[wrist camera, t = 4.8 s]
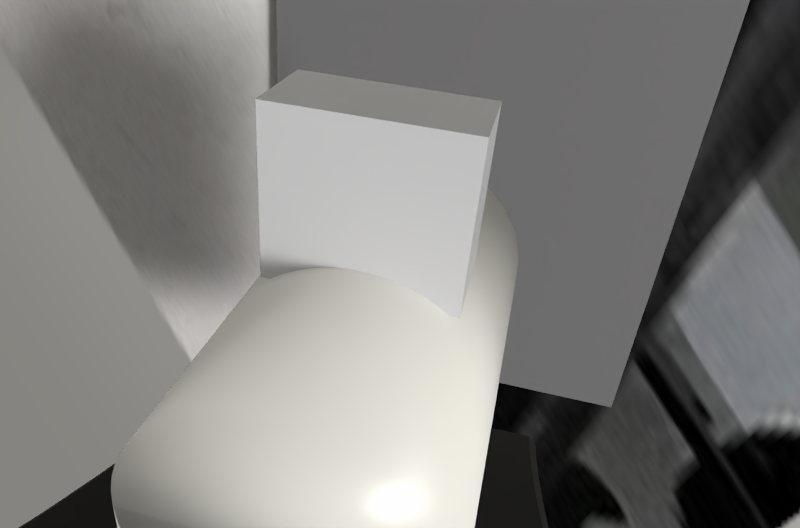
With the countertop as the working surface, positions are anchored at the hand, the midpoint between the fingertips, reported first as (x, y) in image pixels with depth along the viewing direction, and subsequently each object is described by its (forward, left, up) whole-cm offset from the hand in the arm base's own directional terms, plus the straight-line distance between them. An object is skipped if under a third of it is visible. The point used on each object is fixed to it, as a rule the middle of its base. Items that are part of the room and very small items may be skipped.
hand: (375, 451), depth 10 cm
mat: (0, 0, -9) cm, 9 cm away
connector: (0, 0, -1) cm, 1 cm away
